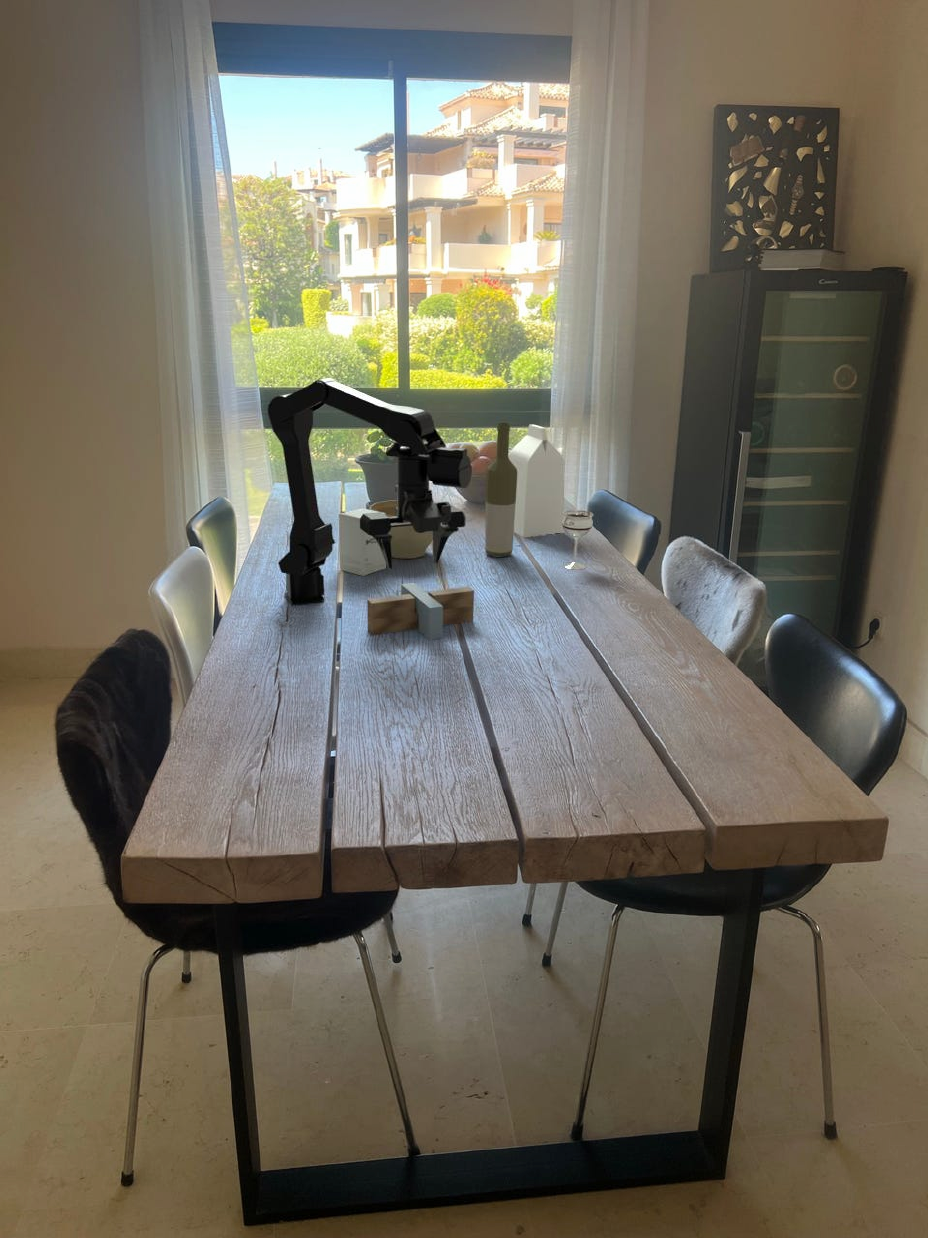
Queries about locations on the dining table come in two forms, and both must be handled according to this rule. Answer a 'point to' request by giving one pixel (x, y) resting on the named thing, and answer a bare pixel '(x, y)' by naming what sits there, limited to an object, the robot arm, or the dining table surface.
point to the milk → (538, 485)
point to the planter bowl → (404, 534)
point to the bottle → (500, 498)
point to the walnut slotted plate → (402, 615)
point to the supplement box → (358, 545)
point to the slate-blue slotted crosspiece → (426, 611)
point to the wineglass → (577, 530)
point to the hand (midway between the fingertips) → (413, 565)
